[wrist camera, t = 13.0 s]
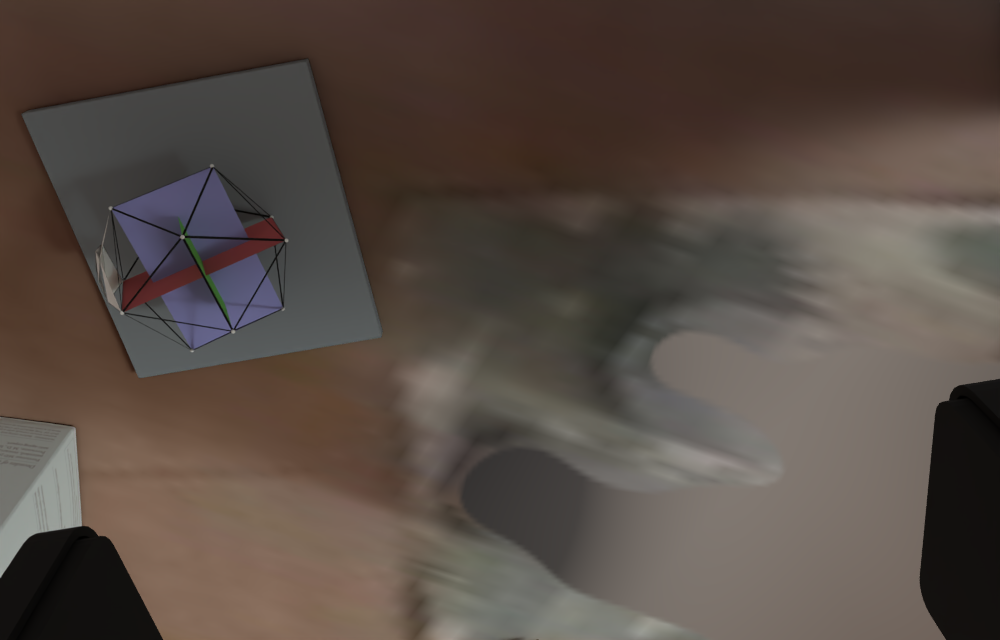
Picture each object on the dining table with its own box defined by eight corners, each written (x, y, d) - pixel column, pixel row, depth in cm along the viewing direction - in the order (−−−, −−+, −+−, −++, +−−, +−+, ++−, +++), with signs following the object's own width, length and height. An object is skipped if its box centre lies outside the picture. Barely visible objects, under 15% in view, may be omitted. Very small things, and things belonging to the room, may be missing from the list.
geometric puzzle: (291, 136, 33) (122, 232, 28) (357, 285, 36) (216, 396, 31) (191, 149, 37) (29, 234, 32) (257, 281, 40) (119, 377, 35)
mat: (308, 58, 34) (305, 61, 34) (382, 331, 40) (381, 337, 40) (28, 110, 35) (21, 114, 34) (143, 371, 41) (138, 378, 40)
